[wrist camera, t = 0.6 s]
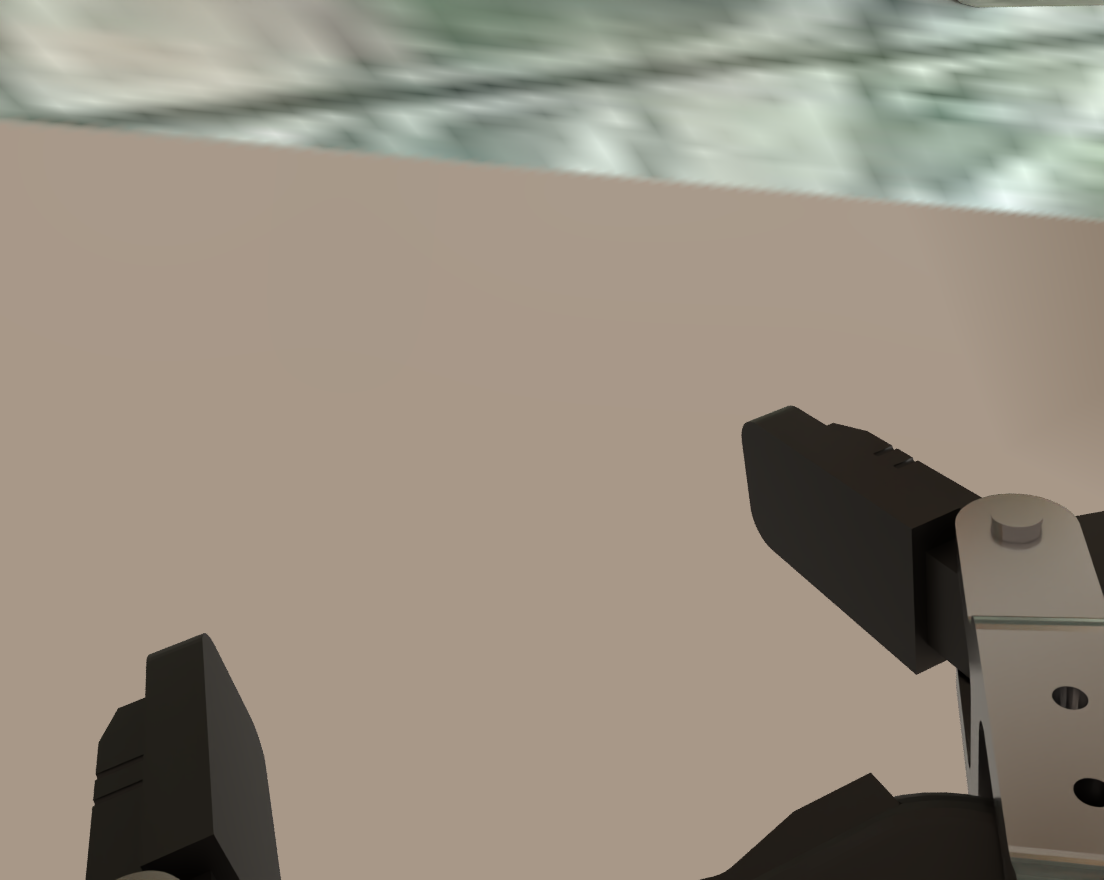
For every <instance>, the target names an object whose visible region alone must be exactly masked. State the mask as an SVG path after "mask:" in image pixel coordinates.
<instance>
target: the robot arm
mask: <svg viewBox="0 0 1104 880" xmlns="http://www.w3.org/2000/svg"><path fill="white" fill-rule="evenodd" d="M957 1H959V2H961V3H962V4H966V5H970V6H974V7H978V8H980V7H1029V6H1094V5H1104V0H957ZM742 445H743V453H744V460H745V468H746V475H747V483H748V491H749V499H750V506H751V512H752V516H753V519H754V522H755V524H756V527H757V529H758V531H759V533H760V535H761V537H762V538H763V540H764V541H765V543H766V544H767V545H768V546H769V547H770V548H771V549H772V550H773V551H774V552H775V553H776V554H778V555H779V556H780V557H781V558H782V559H783V560H785V561H786V562H787V563H788V564H789V565H790V566H791V567H793V568H794V569H795V570H796V571H797V572H798V573H800V574H801V575H802V576H803V577H804V578H805V579H807V580H808V581H809V582H810V583H811V584H812V585H813V586H815V587H816V588H817V589H818V590H819V591H820V592H821V593H823V594H824V595H825V596H826V597H827V598H828V599H830V600H831V601H832V602H833V603H834V604H836V605H837V606H838V607H839V608H840V609H841V610H842V611H843V612H845V613H846V614H847V615H848V616H849V617H850V618H852V619H853V620H854V621H855V622H856V623H857V624H859V625H860V626H861V627H862V628H863V629H864V630H865V631H866V632H868V633H869V634H870V635H871V636H872V637H874V638H875V639H876V640H877V641H878V642H879V643H880V644H881V645H883V646H884V647H885V648H886V649H887V650H888V651H890V652H891V653H892V654H893V655H894V656H895V657H897V658H898V659H899V660H900V661H901V662H902V663H903V664H905V665H906V666H907V667H908V668H909V669H910V670H911V671H913V672H914V673H915V674H916V675H917V674H919V673H921V672H923V671H925V670H927V669H929V668H931V667H933V666H935V665H938V664H940V663H942V662H944V661H946V660H948V661H949V662H950V663H951V664H953V665H954V666H955V667H956V689H957V697H958V706H959V715H960V724H961V732H962V741H963V750H964V759H965V768H966V776H967V785H968V794H957V793H947V792H946V793H916V794H908V795H900V796H895V797H893V796H892V795H891V794H890V793H889V792H888V791H887V789H885V787H884V786H883V785H882V784H881V783H880V782H879V781H878V780H877V779H876V778H875V777H874V776H873V775H872V774H871V773H869V774H867V775H865V776H863V777H861V778H859V779H857V780H855V781H853V782H851V783H849V784H847V785H845V786H843V787H841V788H839V789H838V790H835V791H834V792H831V793H829V794H827V795H826V796H824V797H822V798H820V799H818V800H816V801H814V802H812V803H810V804H808V805H806V806H804V807H802V808H800V809H798V810H796V811H794V812H793V813H792V814H791V815H789V816H788V817H787V818H786V819H785V820H784V821H783V822H782V823H780V824H779V825H778V826H777V827H776V828H775V829H774V830H773V831H772V832H770V833H769V834H768V835H767V836H766V837H765V838H764V839H763V840H761V841H760V842H759V843H758V844H757V845H756V846H755V847H754V848H752V849H751V850H750V851H749V852H748V853H747V854H746V855H745V856H743V857H742V859H740V860H739V861H738V862H737V863H736V864H735V865H733V866H732V867H731V868H730V869H728V870H727V871H726V872H724V873H722V874H720V875H717V876H714V877H709V878H705V879H701V880H1104V511H1102V512H1097V513H1091V514H1086V515H1080V516H1074V514H1073V513H1071V512H1070V511H1069V510H1068V509H1067V508H1065V507H1063V506H1062V505H1060V504H1058V503H1055V502H1053V501H1051V500H1048V499H1045V498H1041V497H1037V496H1032V495H1024V494H998V495H992V496H987V497H983V498H982V497H980V496H978V495H976V494H974V493H973V492H971V491H969V490H968V489H966V488H964V487H963V486H961V485H959V484H957V483H956V482H954V481H952V480H950V479H949V478H947V477H945V476H943V475H942V474H940V473H938V472H937V471H935V470H933V469H931V468H930V467H928V466H926V465H924V464H923V463H921V462H920V461H916V462H914V460H913V458H912V457H911V456H909V455H907V454H906V453H904V452H902V451H901V450H899V449H895V450H894V449H893V447H892V445H890V444H888V443H887V442H885V441H883V440H881V439H880V438H878V437H876V436H875V435H873V434H871V433H869V432H868V431H864V430H860V429H856V428H852V427H848V426H844V425H840V424H835V423H832V424H830V425H825V424H823V423H821V422H820V421H818V420H817V419H815V418H813V417H812V416H810V415H808V414H807V413H805V412H803V411H802V410H800V409H799V408H797V407H795V406H787V407H784V408H782V409H780V410H777V411H774V412H772V413H769V414H767V415H764V416H761V417H759V418H756V419H754V420H751V421H749V422H747V423H745V424H744V426H743V428H742ZM146 663H147V664H146V693H145V698H143V699H140V700H138V701H136V702H133V703H131V704H128V705H126V706H123V707H120V708H118V710H117V712H116V713H115V715H114V717H113V719H112V720H111V722H110V724H109V726H108V727H107V729H106V731H105V732H104V734H103V736H102V738H101V739H100V741H99V744H98V755H97V765H96V776H97V780H95V786H94V797H93V801H94V803H95V806H93V808H92V818H91V829H90V839H89V849H88V860H87V871H86V880H281V877H280V869H279V862H278V855H277V847H276V839H275V832H274V824H273V817H272V810H271V802H270V794H269V787H268V780H267V773H266V765H265V759H264V754H263V750H262V747H261V743H260V740H259V737H258V734H257V732H256V729H255V726H254V724H253V722H252V719H251V717H250V715H249V713H248V711H247V709H246V707H245V705H244V703H243V701H242V699H241V697H240V695H239V693H238V691H237V689H236V687H235V685H234V683H233V681H232V679H231V677H230V675H229V673H228V671H227V669H226V667H225V665H224V663H223V661H222V659H221V657H220V655H219V653H218V651H217V649H216V647H215V645H214V643H213V642H212V640H211V638H210V637H209V636H208V635H207V634H206V633H203V634H201V635H198V636H195V637H193V638H190V639H188V640H186V641H183V642H180V643H178V644H175V645H173V646H170V647H168V648H165V649H162V650H160V651H157V652H155V653H152V654H150V655H148V657H147V662H146Z"/></svg>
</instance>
